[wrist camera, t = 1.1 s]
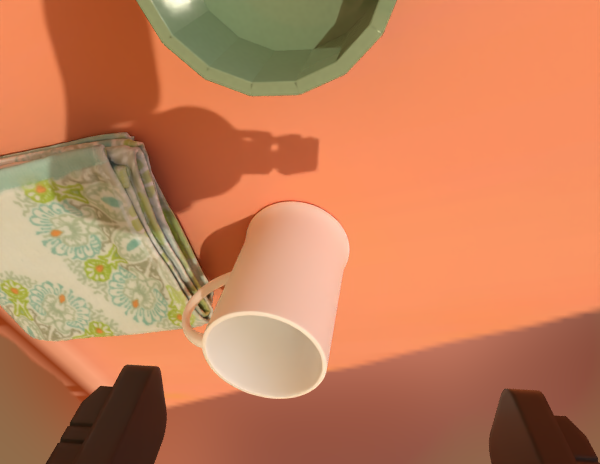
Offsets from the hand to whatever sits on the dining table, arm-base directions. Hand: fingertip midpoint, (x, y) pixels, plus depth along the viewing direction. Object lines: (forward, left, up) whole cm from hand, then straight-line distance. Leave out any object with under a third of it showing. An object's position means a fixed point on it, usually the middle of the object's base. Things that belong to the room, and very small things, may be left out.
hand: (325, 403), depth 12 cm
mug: (+10, -13, -25) cm, 30 cm away
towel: (+3, -29, -25) cm, 38 cm away
